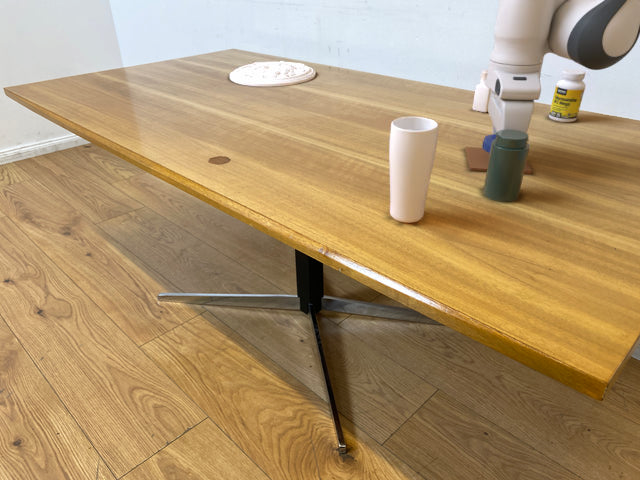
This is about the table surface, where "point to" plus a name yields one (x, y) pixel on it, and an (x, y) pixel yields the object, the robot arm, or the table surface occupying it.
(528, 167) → the coaster
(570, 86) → the pill bottle
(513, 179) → the jar
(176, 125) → the table surface
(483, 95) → the white corked bottle
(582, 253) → the table surface
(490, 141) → the lid
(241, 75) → the ceiling medallion
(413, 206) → the drinking glass
